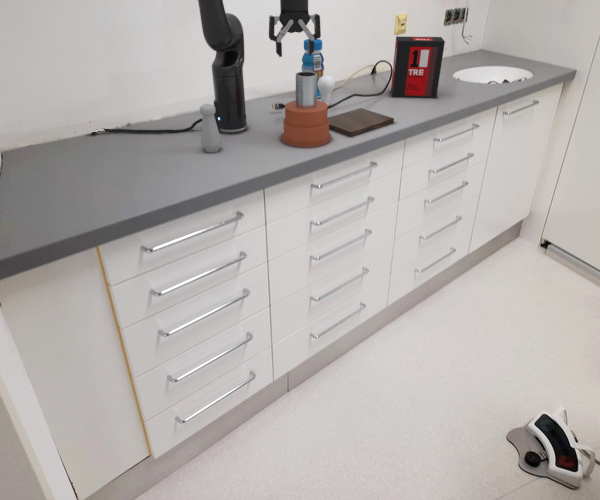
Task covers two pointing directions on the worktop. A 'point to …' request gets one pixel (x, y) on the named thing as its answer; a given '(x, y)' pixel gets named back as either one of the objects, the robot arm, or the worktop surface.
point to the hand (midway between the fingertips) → (295, 55)
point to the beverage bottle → (313, 61)
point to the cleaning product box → (417, 67)
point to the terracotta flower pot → (306, 125)
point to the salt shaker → (209, 129)
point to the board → (358, 122)
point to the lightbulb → (326, 88)
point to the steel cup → (306, 90)
